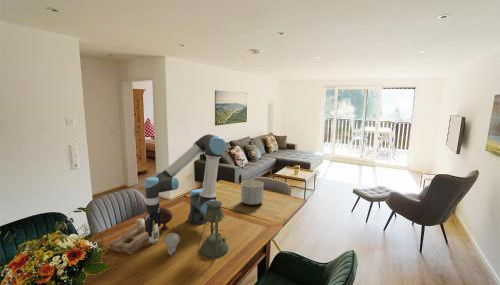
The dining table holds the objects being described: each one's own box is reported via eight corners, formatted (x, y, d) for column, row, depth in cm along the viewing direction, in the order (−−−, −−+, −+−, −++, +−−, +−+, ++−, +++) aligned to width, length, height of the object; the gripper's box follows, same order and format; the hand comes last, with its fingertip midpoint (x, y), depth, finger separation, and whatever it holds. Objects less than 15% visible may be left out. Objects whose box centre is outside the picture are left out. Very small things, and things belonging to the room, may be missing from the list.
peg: (159, 241, 159) (159, 223, 157) (155, 245, 155) (154, 227, 153) (153, 240, 160) (152, 222, 158) (148, 244, 156) (147, 225, 154)
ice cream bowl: (157, 234, 167) (156, 212, 165) (155, 226, 177) (154, 206, 175) (174, 230, 172) (173, 209, 170) (171, 223, 182) (170, 203, 179)
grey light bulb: (171, 248, 151) (171, 230, 150) (182, 251, 149) (181, 232, 147) (162, 256, 144) (161, 236, 142) (172, 259, 141) (172, 239, 139)
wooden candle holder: (156, 235, 166) (155, 218, 164) (133, 254, 145) (131, 235, 143) (135, 231, 170) (135, 214, 168) (110, 249, 149) (108, 231, 147)
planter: (266, 202, 224) (267, 182, 221) (255, 209, 208) (256, 188, 205) (248, 197, 234) (249, 178, 231) (236, 204, 218) (237, 184, 215)
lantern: (231, 257, 144) (232, 207, 139) (200, 262, 139) (199, 211, 134) (224, 238, 164) (225, 194, 159) (197, 242, 159) (196, 196, 154)
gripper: (156, 197, 163) (157, 230, 166) (137, 208, 146) (139, 245, 150) (166, 198, 161) (167, 232, 164) (148, 209, 144) (150, 247, 148)
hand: (154, 238), depth 157 cm, fingers closed on peg, 5 cm apart
